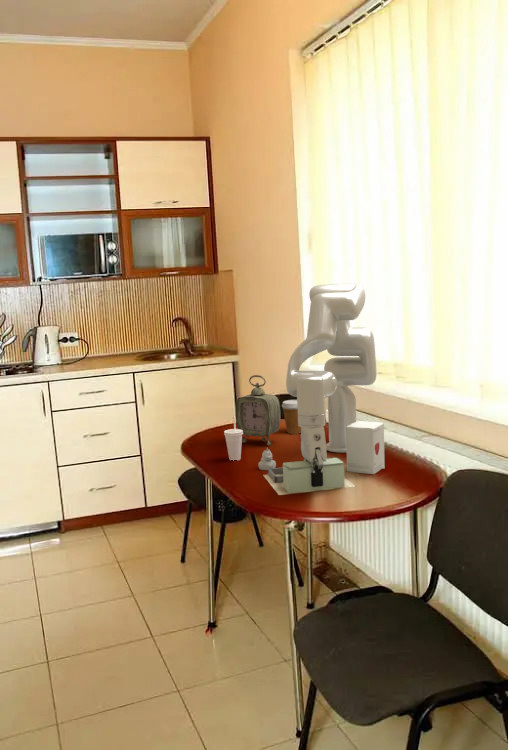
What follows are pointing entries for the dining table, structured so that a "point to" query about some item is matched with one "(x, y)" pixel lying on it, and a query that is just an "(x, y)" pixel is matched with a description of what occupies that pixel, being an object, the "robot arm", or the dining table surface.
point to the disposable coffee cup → (291, 416)
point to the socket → (273, 473)
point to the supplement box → (365, 447)
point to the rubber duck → (267, 461)
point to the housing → (300, 475)
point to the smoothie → (234, 442)
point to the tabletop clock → (258, 413)
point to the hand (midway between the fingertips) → (313, 482)
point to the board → (282, 491)
